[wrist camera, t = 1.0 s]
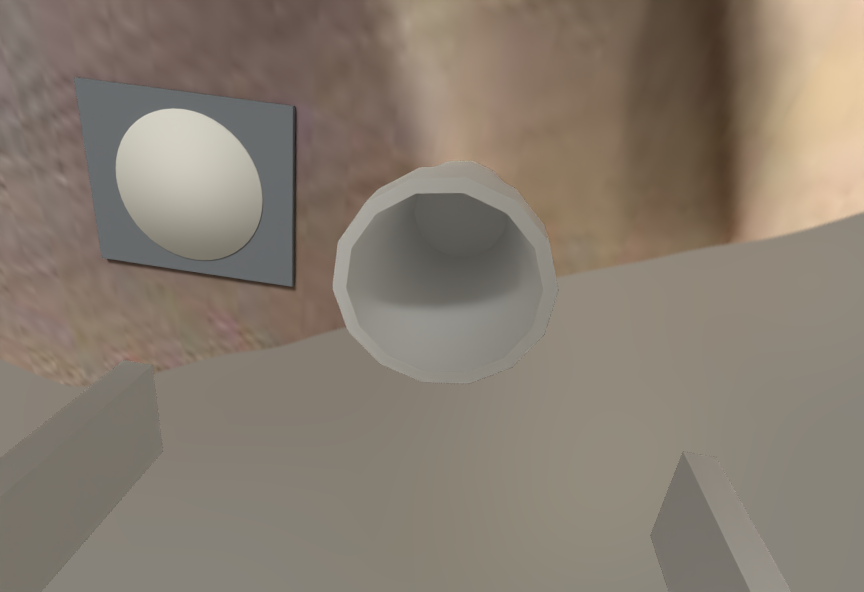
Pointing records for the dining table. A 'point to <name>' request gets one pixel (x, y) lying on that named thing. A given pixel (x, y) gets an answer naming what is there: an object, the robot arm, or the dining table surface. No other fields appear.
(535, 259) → the foam cup
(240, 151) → the mat
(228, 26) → the dining table surface
